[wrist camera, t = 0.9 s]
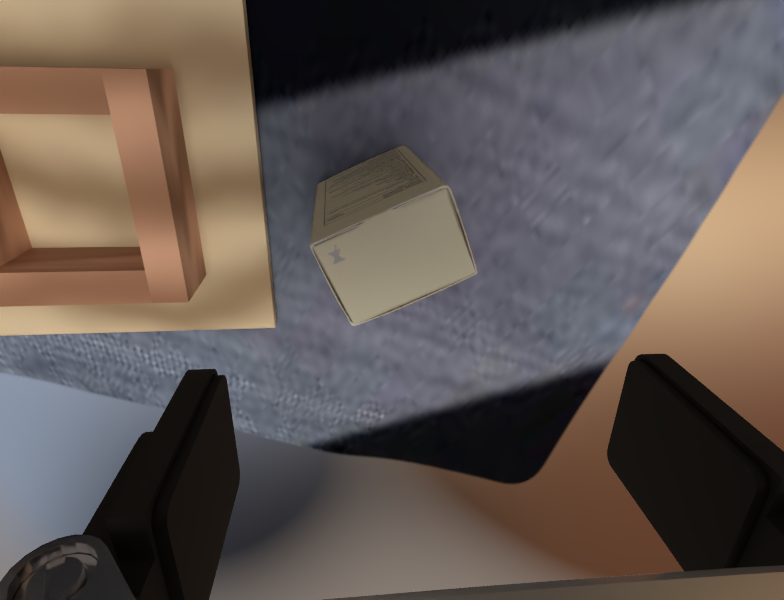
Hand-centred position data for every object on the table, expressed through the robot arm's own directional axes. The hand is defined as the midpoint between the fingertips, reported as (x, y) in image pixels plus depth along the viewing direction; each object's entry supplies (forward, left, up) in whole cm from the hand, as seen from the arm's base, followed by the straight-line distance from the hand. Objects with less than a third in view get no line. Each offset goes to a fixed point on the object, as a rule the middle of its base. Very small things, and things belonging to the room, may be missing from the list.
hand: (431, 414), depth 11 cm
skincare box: (0, 0, -22) cm, 22 cm away
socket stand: (-1, -17, -22) cm, 28 cm away
